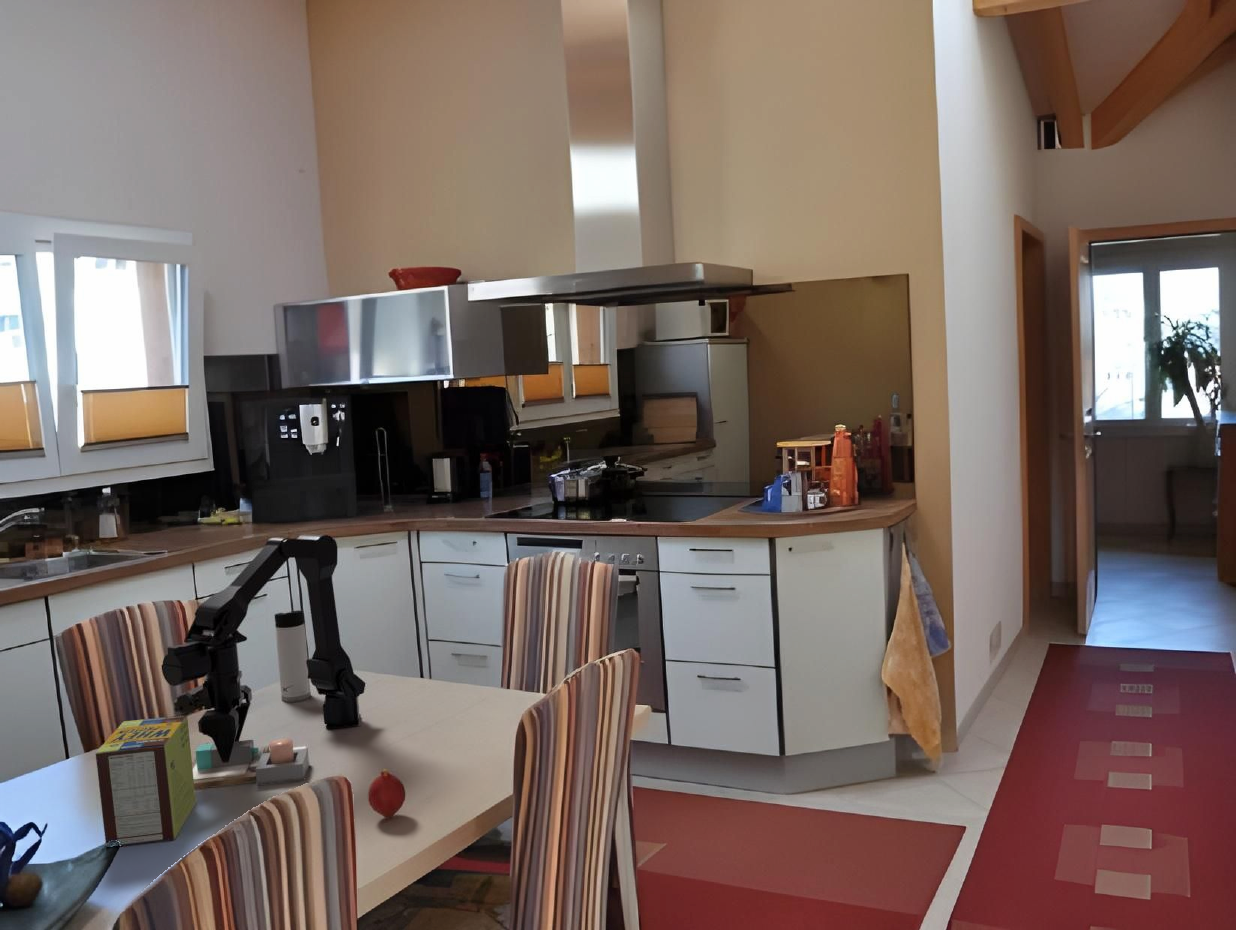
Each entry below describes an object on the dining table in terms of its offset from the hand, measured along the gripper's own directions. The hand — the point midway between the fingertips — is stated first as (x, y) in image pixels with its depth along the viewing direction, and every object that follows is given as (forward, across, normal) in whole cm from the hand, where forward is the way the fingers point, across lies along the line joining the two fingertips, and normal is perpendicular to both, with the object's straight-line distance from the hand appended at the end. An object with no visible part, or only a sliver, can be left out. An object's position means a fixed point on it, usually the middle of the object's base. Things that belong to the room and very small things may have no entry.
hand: (230, 753), depth 198 cm
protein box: (+3, +22, -8) cm, 24 cm away
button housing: (+3, +6, +10) cm, 12 cm away
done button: (+1, +6, +10) cm, 12 cm away
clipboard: (+3, 0, -1) cm, 3 cm away
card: (+3, -5, +10) cm, 11 cm away
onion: (+3, +31, +30) cm, 43 cm away
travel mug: (+3, -42, +6) cm, 43 cm away
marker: (+2, 0, -1) cm, 2 cm away
